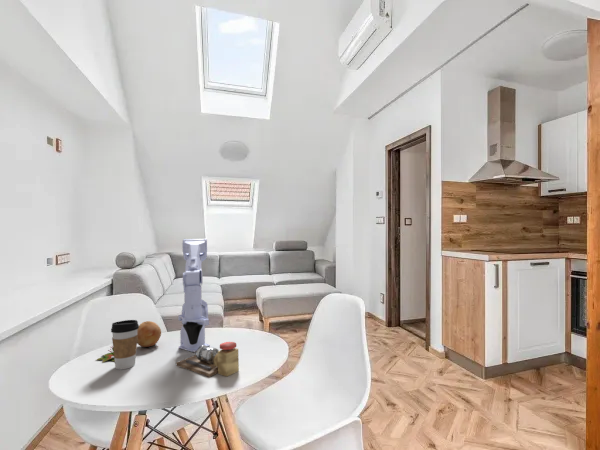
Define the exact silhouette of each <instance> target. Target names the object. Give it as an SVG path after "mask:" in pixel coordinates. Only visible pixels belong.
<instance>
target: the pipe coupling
mask: <svg viewBox="0 0 600 450" xmlns="http://www.w3.org/2000/svg"><path fill="white" fill-rule="evenodd" d="M218 351H220V350H219V349H218V348H216V347H210V346H209V347H208V346H205V345H202V346H200V347H199V348H198V350H197V351H195V352H196V353H195V355H196V358H197V359H198V360H199V361H206V362H207V363H209V364H214V362H213V361H214V357H215V355H216V354H217V353H218Z"/></svg>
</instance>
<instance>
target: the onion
mask: <svg viewBox="0 0 600 450" xmlns="http://www.w3.org/2000/svg"><path fill="white" fill-rule="evenodd" d="M138 325H139V328H138V330H137V334H138V338H137V346H140V347H142V348H148V347H153V346H155V345H156V344H157V343H158V342H159V340H160V338H161V336H162V329H161V327H160V326H159V324H157V323H156V322H154V321H150V320H148V321H143V322H142V323H140V324H138Z"/></svg>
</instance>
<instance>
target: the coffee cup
mask: <svg viewBox="0 0 600 450" xmlns="http://www.w3.org/2000/svg"><path fill="white" fill-rule="evenodd" d="M139 325H140V324H139V321H138V320H137V319H125V320H121V321H120V320H119V321H115V322H112V323H111V329H110V333H112V338H111V340H112V346H113V347H112V348H113V350H114V356H113V358H114V360H115V361H114V367H115V369H116V370H126V369H129V368H132V367H134V366H135V365H136V357H137V356H136V355H137V347H138V344H137V338H138V334H137V330H138V328H139ZM113 350H112V351H113Z"/></svg>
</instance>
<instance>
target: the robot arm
mask: <svg viewBox="0 0 600 450" xmlns="http://www.w3.org/2000/svg"><path fill="white" fill-rule="evenodd" d="M181 245H182V248H181V249H182V253H183V260H184V261H185V266H184V272H182V286H183V294H184V302H183V304H182V309H181V314H179V315H178V317H177V318H178V319H177V320H178V321H179V322H181V324H182V326H181V329H180V337H179V338H180V340H179V341H180V346H178V348H179V349H182V350H185V351H188V352H191V353H195V352H197V350H198V348H199V347H200V346H202V345H205V346H208V347H209V348H210V346H211V345H210V344H208V343H206V331H205V330H206V326H209V325H210V319H209V307H208V302H207V301H205V300H203V298H202V286H203V276H204V275H203V268H202V263H203V262H204V261H205V260H207V257H208V239H207V238H206V237H205V238H183V239H182V243H181Z"/></svg>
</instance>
